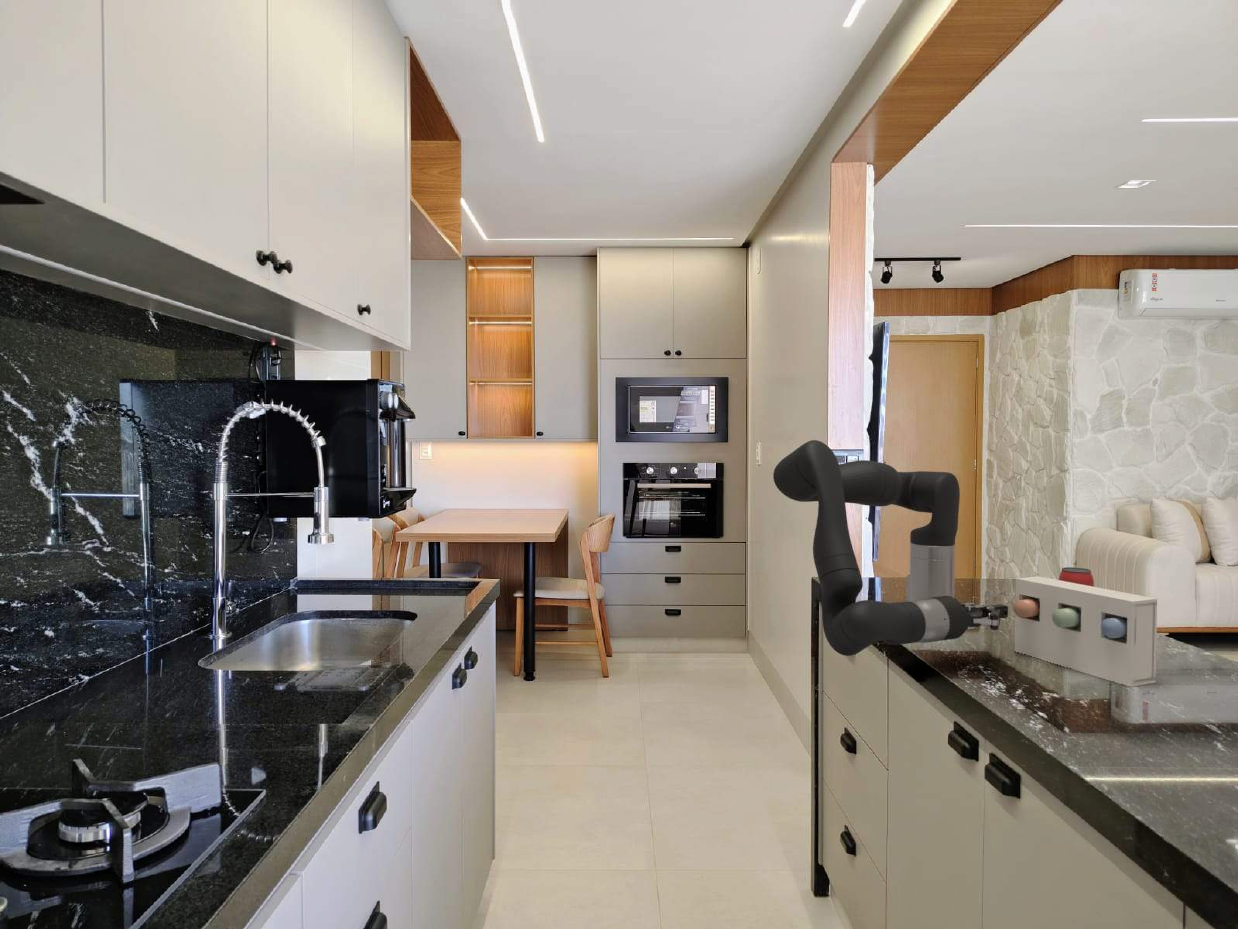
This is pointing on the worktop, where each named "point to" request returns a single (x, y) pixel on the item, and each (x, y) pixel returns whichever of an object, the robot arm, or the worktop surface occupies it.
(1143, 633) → the console
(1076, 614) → the sage button
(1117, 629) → the blue button
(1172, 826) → the worktop surface
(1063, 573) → the beer can
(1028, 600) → the terracotta button
